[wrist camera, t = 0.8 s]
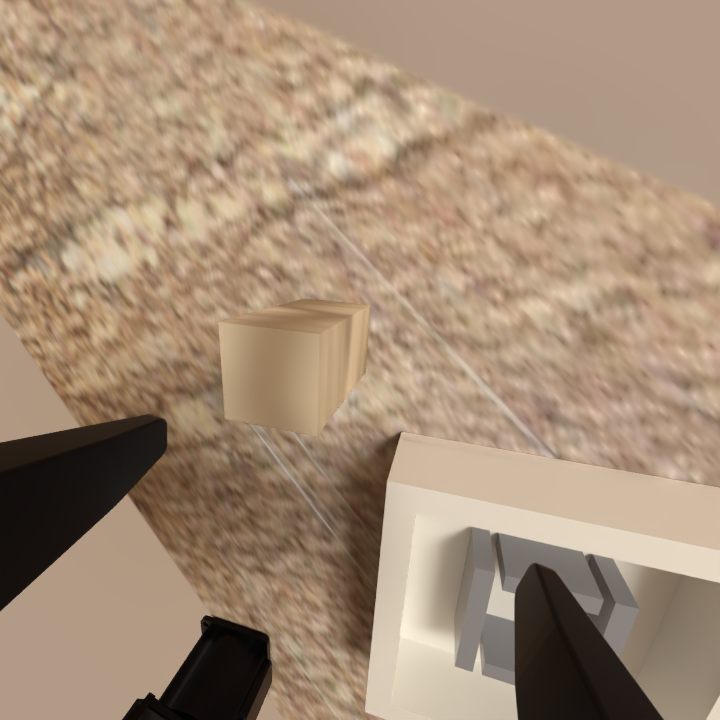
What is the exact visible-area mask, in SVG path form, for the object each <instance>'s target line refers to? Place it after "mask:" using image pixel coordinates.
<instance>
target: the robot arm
mask: <svg viewBox="0 0 720 720" xmlns="http://www.w3.org/2000/svg"><path fill="white" fill-rule="evenodd" d="M166 448H167V422H166V420H165V419H163V418H161V417H158V416H156V415H153V414H147V415H142V416H137V417H131V418H126V419H121V420H116V421H111V422H105V423H100V424H95V425H90V426H85V427H79V428H74V429H69V430H64V431H59V432H54V433H49V434H44V435H38V436H33V437H28V438H23V439H17V440H12V441H7V442H1V443H0V611H1V610H2V609H3V608H4V607H5V606H7V605H8V604H9V603H10V602H11V601H12V600H13V599H14V598H15V597H16V596H17V595H19V594H20V593H21V592H22V591H23V590H24V589H25V588H26V587H27V586H28V585H30V584H31V583H32V582H33V581H34V580H35V579H36V578H37V577H38V576H39V575H41V574H42V573H43V572H44V571H45V570H46V569H47V568H48V567H49V566H50V565H51V564H53V563H54V562H55V561H56V560H57V559H58V558H59V557H60V556H61V555H62V554H63V553H64V552H66V551H67V550H68V549H69V548H70V547H71V546H72V545H73V544H74V543H75V542H76V541H78V540H79V539H80V538H81V537H82V536H83V535H84V534H85V533H86V532H87V531H89V530H90V529H91V528H92V527H93V526H94V525H95V524H96V523H97V522H98V521H100V519H102V518H103V517H104V516H105V515H106V514H107V513H108V512H109V511H110V510H111V509H113V508H114V506H116V505H117V503H119V502H120V501H121V500H122V499H123V497H124V496H125V495H126V494H127V493H128V492H129V491H130V490H131V489H132V488H133V487H134V486H135V485H136V483H137V482H138V481H139V480H140V479H141V478H142V477H143V476H144V475H145V474H146V473H147V472H148V470H149V469H150V468H151V467H152V466H153V465H154V464H155V463H156V462H157V461H158V460H159V459H160V457H161V456H162V455H163V454H164V452H165V450H166ZM201 630H202V636H201V637H200V639H199V640H198V642H197V643H196V645H195V646H194V648H193V649H192V651H191V652H190V654H189V655H188V657H187V659H186V660H185V661H184V663H183V664H182V666H181V667H180V669H179V671H178V672H177V673H176V675H175V676H174V678H173V679H172V681H171V682H170V684H169V685H168V687H167V688H166V690H165V692H164V693H163V695H162V696H161V698H160V699H159V700H157V699H156V698H155V695H153V694H152V693H149V694H148V695H147V696H146V698H145V699H137V700H136V701H135V703H134V704H133V705H132V707H131V708H130V710H129V711H128V712H127V714H126V715H125V717H124V718H123V719H122V720H256V718H257V716H258V714H259V711H260V709H261V706H262V704H263V702H264V699H265V697H266V695H267V692H268V690H269V688H270V685H271V683H272V663H271V660H270V640H269V638H268V637H267V636H266V635H264V634H261V633H258V632H255V631H252V630H249V629H246V628H243V627H240V626H237V625H234V624H231V623H228V622H225V621H222V620H219V619H216V618H213V617H210V616H207V615H206V616H204V617H203V619H202V620H201ZM514 673H515V694H516V705H517V716H518V720H664V719H663V717H662V716H661V715H660V713H659V712H658V711H657V709H656V708H655V706H654V705H653V704H652V702H651V701H650V700H649V698H648V697H647V696H646V694H645V693H644V691H643V690H642V689H641V687H640V686H639V685H638V683H637V682H636V680H635V679H634V678H633V676H632V675H631V674H630V672H629V671H628V670H627V668H626V667H625V665H624V664H623V663H622V661H621V660H620V659H619V657H618V656H617V654H616V653H615V652H614V650H613V649H612V648H611V646H610V645H609V643H608V642H607V641H606V639H605V638H604V637H603V635H602V634H601V633H600V631H599V630H598V628H597V627H596V626H595V624H594V623H593V622H592V620H591V619H590V617H589V616H588V615H587V613H586V612H585V611H584V609H583V608H582V607H581V605H580V604H579V602H578V601H577V600H576V598H575V597H574V596H573V594H572V593H571V591H570V590H569V589H568V587H567V586H566V585H565V583H564V582H563V581H562V579H561V578H560V576H559V575H558V574H557V573H556V571H555V570H553V569H552V568H549V567H547V566H544V565H542V564H539V563H536V562H533V563H531V564H530V565H529V567H528V568H527V570H526V572H525V574H524V575H523V577H522V579H521V580H520V582H519V584H518V586H517V588H516V591H515V597H514Z"/></svg>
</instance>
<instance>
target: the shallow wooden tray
mask: <svg viewBox="0 0 720 720" xmlns="http://www.w3.org/2000/svg"><path fill="white" fill-rule="evenodd" d="M533 562H536V563H539V564H542V565H544V566H547V567H549V568H552V569H553V570H555V571H556V573H557V574H558V575H559V576H560V578H561V579H562V581H563V582H564V583H565V585H566V586H567V587H568V589H569V590H570V591H571V593H572V594H573V596H574V597H575V598H576V600H577V601H578V602H579V604H580V605H581V607H582V608H583V609H584V611H585V612H586V613H587V615H588V616H589V617H590V619H591V620H592V622H593V623H594V624H595V626H596V627H597V628H598V630H599V631H600V633H601V634H602V635H603V637H604V638H605V639H606V641H607V642H608V643H609V645H610V646H611V648H612V649H613V650H614V652H615V653H616V654H617V656H618V657H619V659H620V660H621V661H622V663H623V664H624V665H625V667H626V668H627V670H628V671H629V672H630V674H631V675H632V676H633V678H634V679H635V680H636V682H637V683H638V685H639V686H640V687H641V689H642V690H643V691H644V693H645V694H646V696H647V697H648V698H649V700H650V701H651V702H652V704H653V705H654V706H655V708H656V709H657V711H658V712H659V713H660V715H661V716H662V717H663V719H664V720H720V488H719V487H713V486H708V485H702V484H696V483H691V482H685V481H679V480H674V479H668V478H662V477H657V476H651V475H645V474H640V473H634V472H628V471H622V470H617V469H611V468H605V467H600V466H594V465H588V464H583V463H577V462H571V461H566V460H560V459H554V458H549V457H543V456H537V455H531V454H526V453H520V452H514V451H509V450H503V449H497V448H492V447H486V446H480V445H475V444H469V443H463V442H458V441H452V440H446V439H441V438H435V437H429V436H423V435H418V434H412V433H406V432H401V436H400V439H399V442H398V446H397V449H396V453H395V456H394V460H393V463H392V466H391V470H390V473H389V477H388V480H387V489H386V499H385V510H384V520H383V530H382V541H381V551H380V561H379V572H378V582H377V592H376V603H375V613H374V623H373V633H372V644H371V654H370V664H369V675H368V685H367V695H366V706H365V712H366V713H369V714H372V715H375V716H377V717H380V718H383V719H386V720H518V716H517V705H516V694H515V673H514V597H515V591H516V588H517V586H518V584H519V582H520V580H521V579H522V577H523V575H524V574H525V572H526V570H527V568H528V567H529V565H530V564H531V563H533Z"/></svg>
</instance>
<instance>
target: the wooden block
mask: <svg viewBox="0 0 720 720" xmlns="http://www.w3.org/2000/svg"><path fill="white" fill-rule="evenodd" d="M369 316H370V305H365V304H355V303H344V302H334V301H323V300H313V299H301V300H298V301H294V302H290V303H287V304H283V305H279V306H276V307H272V308H268V309H265V310H261V311H257V312H254V313H250V314H246V315H243V316H239V317H235V318H232V319H228V320H224V321H221V322H219V337H220V352H221V368H222V383H223V399H224V414H225V419H229V420H234V421H239V422H245V423H250V424H255V425H260V426H266V427H271V428H276V429H282V430H287V431H292V432H297V433H303V434H308V435H313V436H317V435H318V434H319V433H320V431H321V430H322V429H323V427H324V426H325V425H326V424H327V422H328V421H329V420H330V418H331V417H332V416H333V414H334V413H335V412H336V410H337V409H338V408H339V406H340V405H341V404H342V402H343V401H344V400H345V399H346V397H347V396H348V395H349V393H350V392H351V391H352V389H353V388H354V387H355V385H356V384H357V383H358V381H359V380H360V379H361V378H362V376H363V375H364V374H365V372H366V361H367V346H368V331H369Z"/></svg>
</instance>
